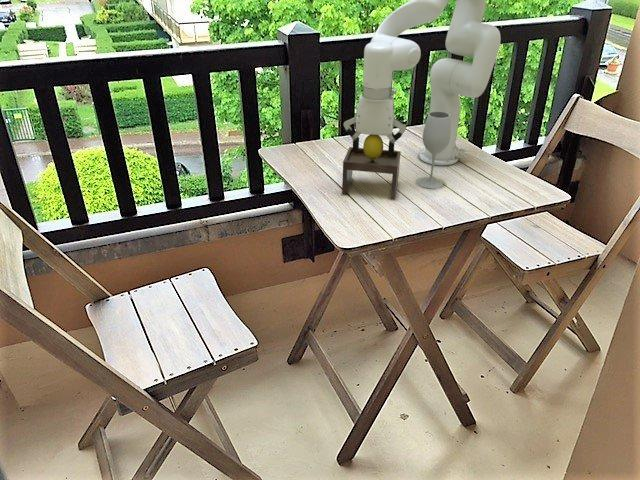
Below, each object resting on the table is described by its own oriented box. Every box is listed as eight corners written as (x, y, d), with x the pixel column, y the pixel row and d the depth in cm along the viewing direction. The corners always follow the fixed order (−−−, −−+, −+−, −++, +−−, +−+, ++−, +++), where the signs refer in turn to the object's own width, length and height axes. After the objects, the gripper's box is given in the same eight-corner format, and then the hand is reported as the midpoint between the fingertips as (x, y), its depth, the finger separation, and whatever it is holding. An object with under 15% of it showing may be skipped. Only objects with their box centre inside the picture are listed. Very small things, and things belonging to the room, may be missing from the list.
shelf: (397, 183, 157) (400, 151, 152) (394, 199, 148) (397, 166, 143) (348, 178, 160) (349, 146, 155) (342, 194, 151) (343, 161, 145)
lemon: (381, 164, 147) (383, 137, 142) (361, 163, 148) (362, 135, 143) (383, 157, 151) (385, 130, 147) (364, 155, 152) (365, 129, 148)
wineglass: (444, 180, 159) (454, 112, 148) (441, 190, 153) (451, 120, 142) (420, 176, 162) (427, 109, 150) (415, 186, 155) (423, 117, 144)
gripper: (410, 90, 141) (405, 150, 150) (346, 86, 144) (344, 146, 153) (408, 98, 135) (403, 161, 144) (341, 94, 138) (340, 155, 147)
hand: (373, 153), depth 148 cm, fingers open, 9 cm apart
